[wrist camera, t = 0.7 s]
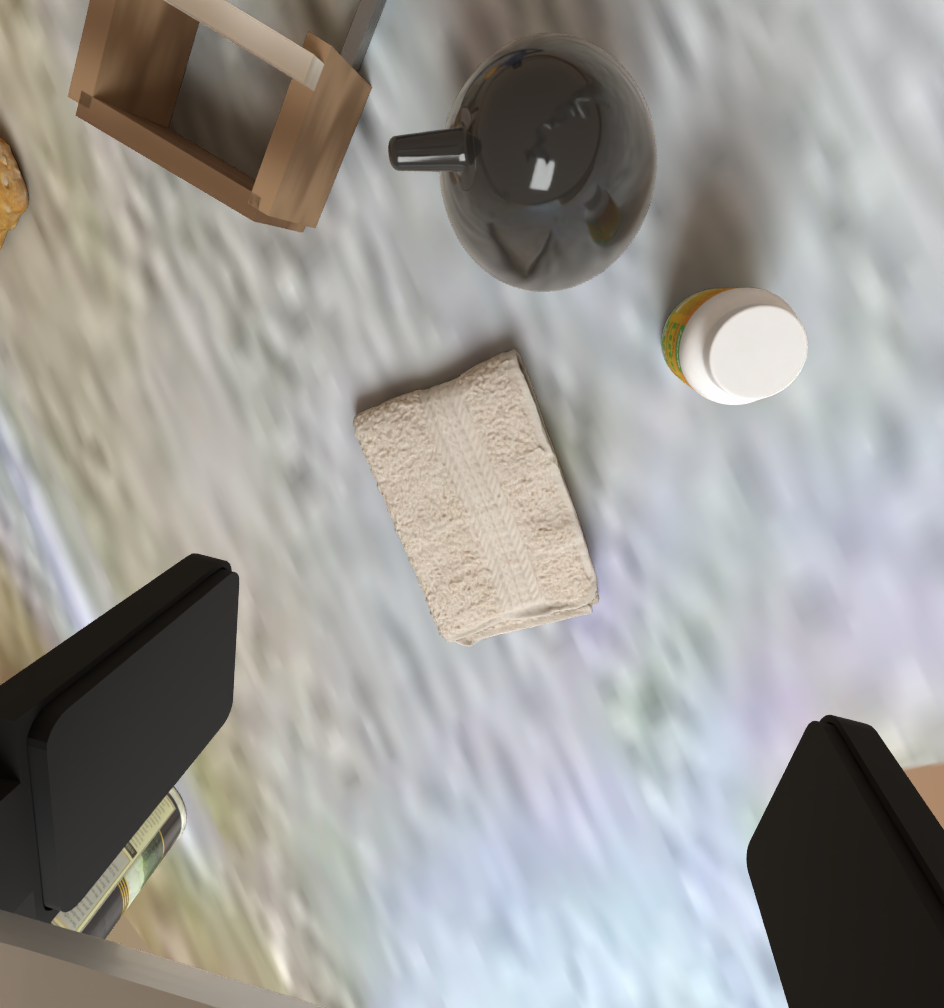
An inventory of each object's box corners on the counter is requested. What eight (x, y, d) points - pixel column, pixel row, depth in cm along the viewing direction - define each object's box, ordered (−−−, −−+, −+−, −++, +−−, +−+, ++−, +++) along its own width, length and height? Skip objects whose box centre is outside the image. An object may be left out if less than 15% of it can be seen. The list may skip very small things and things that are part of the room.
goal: (189, -24, 33) (90, -106, 26) (371, 87, 33) (321, 34, 26) (144, 138, 36) (45, 102, 29) (311, 237, 36) (252, 224, 29)
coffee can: (204, 843, 55) (89, 1016, 42) (110, 848, 57) (-27, 1013, 44) (162, 752, 52) (25, 907, 39) (65, 760, 54) (-96, 910, 41)
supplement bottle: (646, 315, 35) (673, 322, 26) (740, 270, 33) (804, 261, 24) (679, 400, 36) (716, 435, 27) (771, 360, 34) (843, 384, 25)
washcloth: (454, 638, 44) (446, 661, 41) (351, 411, 40) (334, 420, 37) (610, 594, 41) (614, 617, 38) (519, 344, 37) (514, 348, 34)
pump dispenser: (446, 104, 33) (352, -41, 19) (643, 71, 31) (706, -118, 17) (465, 301, 36) (397, 305, 22) (645, 281, 34) (698, 272, 20)
